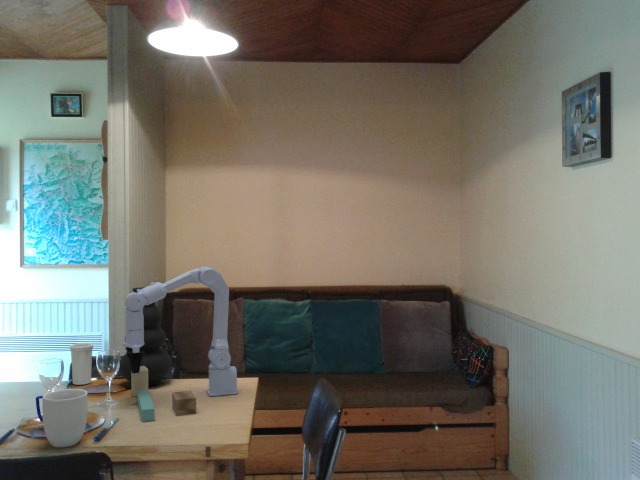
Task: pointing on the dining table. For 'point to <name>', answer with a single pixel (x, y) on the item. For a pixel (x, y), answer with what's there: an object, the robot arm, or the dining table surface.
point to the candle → (139, 381)
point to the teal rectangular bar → (145, 406)
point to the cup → (81, 362)
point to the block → (184, 403)
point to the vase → (150, 347)
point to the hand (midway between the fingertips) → (134, 370)
